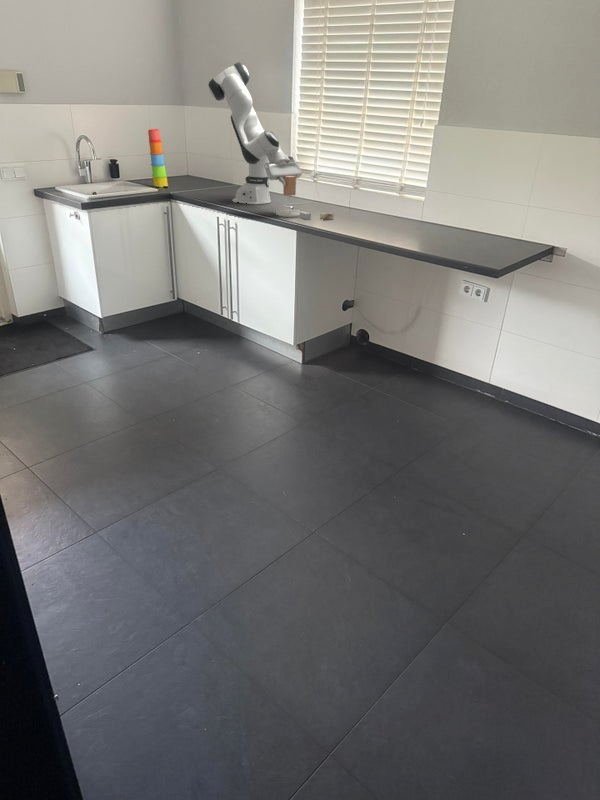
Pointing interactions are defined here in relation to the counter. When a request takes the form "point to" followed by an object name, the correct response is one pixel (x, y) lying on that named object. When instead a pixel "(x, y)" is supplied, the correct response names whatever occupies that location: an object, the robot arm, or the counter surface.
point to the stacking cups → (157, 158)
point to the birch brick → (326, 216)
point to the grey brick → (305, 215)
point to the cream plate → (288, 213)
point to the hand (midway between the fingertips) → (290, 184)
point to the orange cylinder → (289, 186)
